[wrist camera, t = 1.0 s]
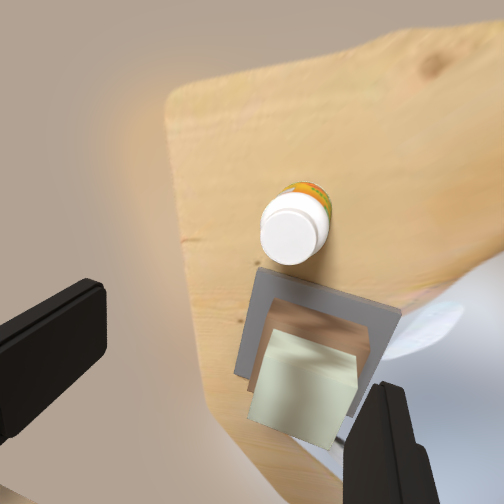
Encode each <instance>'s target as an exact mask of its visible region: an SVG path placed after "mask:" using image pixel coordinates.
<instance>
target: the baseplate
mask: <svg viewBox="0 0 504 504" xmlns="http://www.w3.org/2000/svg"><path fill="white" fill-rule="evenodd" d="M274 297H275V298H279V299H282V300H285V301H288V302H291V303H294V304H298V305H301V306H304V307H307V308H310V309H313V310H316V311H320V312H323V313H326V314H329V315H332V316H335V317H339V318H342V319H345V320H348V321H351V322H354V323H357V324H361V325H364V326H367V327H368V335H369V343H370V351H371V352H370V354H369V356H368V359H367V361H366V363H365V365H364V367H363V370H362V372H361V374H360V376H359V378H358V390H357V392H356V394H355V396H354V398H353V400H352V403H351V405H350V407H349V409H348V411H347V413H346V415H347V416H350V417H352V418H353V416H354V414H355V412H356V409H357V407H358V405H359V403H360V401H361V399H362V396H363V395H364V393H365V391H366V388H367V386H368V384H369V382H370V380H371V378H372V376H373V374H374V372H375V370H376V368H377V365H378V363H379V361H380V359H381V357H382V355H383V353H384V351H385V349H386V347H387V345H388V343H389V341H390V338H391V336H392V334H393V332H394V330H395V328H396V326H397V324H398V322H399V320H400V318H401V315H402V313H401V310H400V309H398V308H394V307H391V306H388V305H384V304H381V303H378V302H375V301H371V300H368V299H365V298H361V297H358V296H355V295H351V294H348V293H345V292H341V291H338V290H335V289H331V288H328V287H325V286H322V285H318V284H315V283H312V282H308V281H305V280H302V279H298V278H295V277H292V276H288V275H285V274H282V273H278V272H275V271H272V270H268V269H265V268H262V267H259V268H258V270H257V272H256V277H255V281H254V286H253V290H252V295H251V299H250V303H249V308H248V312H247V317H246V321H245V326H244V330H243V334H242V339H241V343H240V348H239V352H238V357H237V361H236V365H235V370H234V374H236V375H239V376H241V377H244V378H247V379H249V380H250V377H251V373H252V369H253V366H254V362H255V358H256V354H257V350H258V346H259V342H260V338H261V335H262V331H263V327H264V323H265V319H266V316H267V313H268V311H269V309H270V306H271V304H272V301H273V299H274Z"/></svg>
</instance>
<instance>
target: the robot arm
mask: <svg viewBox="0 0 504 504" xmlns="http://www.w3.org/2000/svg"><path fill="white" fill-rule="evenodd" d="M106 304H107V303H106V290H105V289H104V286H103V284H102V283H100V282H97V281H94V280H91V279H88V278H85V279H82V280H80V281H78V282H77V283H75V284H73V285H71V286H70V287H68V288H66V289H64V290H63V291H61V292H59V293H57V294H55V295H54V296H52V297H50V298H48V299H46V300H45V301H43V302H41V303H39V304H38V305H36V306H34V307H32V308H31V309H29V310H27V311H25V312H24V313H22V314H20V315H18V316H16V317H14V318H13V319H11V320H9V321H7V322H6V323H4V324H2V325H0V445H2V444H3V443H4V442H5V441H6V440H7V439H8V438H13V437H14V436H16V435H17V434H19V433H20V432H21V431H22V430H23V429H24V428H25V427H26V426H27V425H28V424H30V423H31V422H32V421H33V420H34V419H35V418H36V417H37V416H38V415H39V414H40V413H41V412H43V410H45V409H46V408H47V407H48V406H49V405H50V404H51V403H52V402H53V401H54V400H55V399H57V398H58V397H59V396H60V395H61V394H62V393H63V392H64V391H65V390H66V389H67V388H69V387H70V386H71V385H72V384H73V383H74V382H75V381H76V380H77V379H78V378H79V377H80V376H82V375H83V374H84V373H85V372H86V371H87V370H88V369H89V368H90V367H91V366H92V365H93V364H95V362H97V361H98V360H99V359H100V358H101V357H102V356H103V355H104V353H105V351H106V349H107V308H106V307H107V306H106ZM0 504H37V503H35V502H33V501H31V500H29V499H27V498H26V497H24V496H22V495H20V494H18V493H16V492H14V491H12V490H10V489H8V488H6V487H4V486H2V485H0ZM343 504H440V502H439V498H438V494H437V490H436V486H435V482H434V478H433V474H432V470H431V466H430V462H429V458H428V455H427V452H426V449H425V448H424V447H423V446H422V445H420V444H417V443H416V442H415V437H414V433H413V428H412V424H411V419H410V415H409V410H408V406H407V401H406V397H405V392H404V389H403V388H402V387H399V386H396V385H393V384H390V383H387V382H384V381H382V382H381V383H380V384H379V385H378V384H373V386H372V387H371V389H370V391H369V394H368V396H367V398H366V400H365V402H364V404H363V406H362V408H361V410H360V412H359V414H358V416H357V418H356V420H355V422H354V424H353V426H352V429H351V431H350V433H349V435H348V437H347V439H346V441H345V445H344V452H343Z"/></svg>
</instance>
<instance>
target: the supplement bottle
mask: <svg viewBox="0 0 504 504" xmlns="http://www.w3.org/2000/svg"><path fill="white" fill-rule="evenodd" d="M331 213H332V205H331V201H330V198H329V196H328V194H327V193H326V191H325V190H324V189H323V188H322V187H320V186H319V185H317V184H315V183H312V182H308V181H301V182H296V183H293V184H291V185H289V186H288V187H286V188H285V189H284V190H283V191H282V192H281V193H279V194H278V195H277V196H276V197H275V198H274V199H273V200H272V201H271V202H270V203H269V204H268V206H267V207H266V209H265V210H264V212H263V214H262V217H261V222H260V229H261V233H260V240H261V245H262V248H263V250H264V251H265V253H266V254H267V255H268V257H270V258H271V259H272V260H274V261H275V262H277V263H280V264H283V265H296V264H299V263H302V262H304V261H305V260H307V259H308V258H309V257H310V256H312V255H314V254H315V253H316V252H318V251H319V250H320V249H321V247H322V246H323V245H324V243H325V241H326V239H327V236H328V232H329V226H330V219H331Z"/></svg>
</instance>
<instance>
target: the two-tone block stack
mask: <svg viewBox="0 0 504 504" xmlns="http://www.w3.org/2000/svg"><path fill="white" fill-rule="evenodd" d="M370 352H371V351H370V343H369V335H368V327H367V326H364V325H361V324H357V323H354V322H351V321H348V320H345V319H342V318H339V317H335V316H332V315H329V314H326V313H323V312H320V311H316V310H313V309H310V308H307V307H304V306H301V305H298V304H294V303H291V302H288V301H285V300H282V299H279V298H275V297H274V299H273V301H272V304H271V306H270V309H269V311H268V313H267V316H266V319H265V323H264V327H263V331H262V335H261V338H260V342H259V346H258V350H257V354H256V358H255V362H254V366H253V369H252V373H251V377H250V381H249V385H248V389H247V391H249V392H252V393H254V395H253V398H252V402H251V406H250V409H249V413H248V417H247V419H250V420H252V421H255V422H257V423H260V424H262V425H265V426H268V427H270V428H273V429H275V430H278V431H280V432H283V433H285V434H288V435H290V436H293V437H295V438H298V439H301V440H303V441H306V442H308V443H311V444H313V445H316V446H318V447H321V448H323V449H326V450H328V451H329V450H330V448H331V446H332V444H333V441H334V439H335V437H336V435H337V432H338V431H339V428H340V426H341V424H342V422H343V420H344V418H345V415H346V413H347V411H348V409H349V407H350V405H351V403H352V400H353V398H354V396H355V394H356V392H357V390H358V378H359V376H360V374H361V372H362V370H363V367H364V365H365V363H366V361H367V359H368V356H369V354H370Z"/></svg>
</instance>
